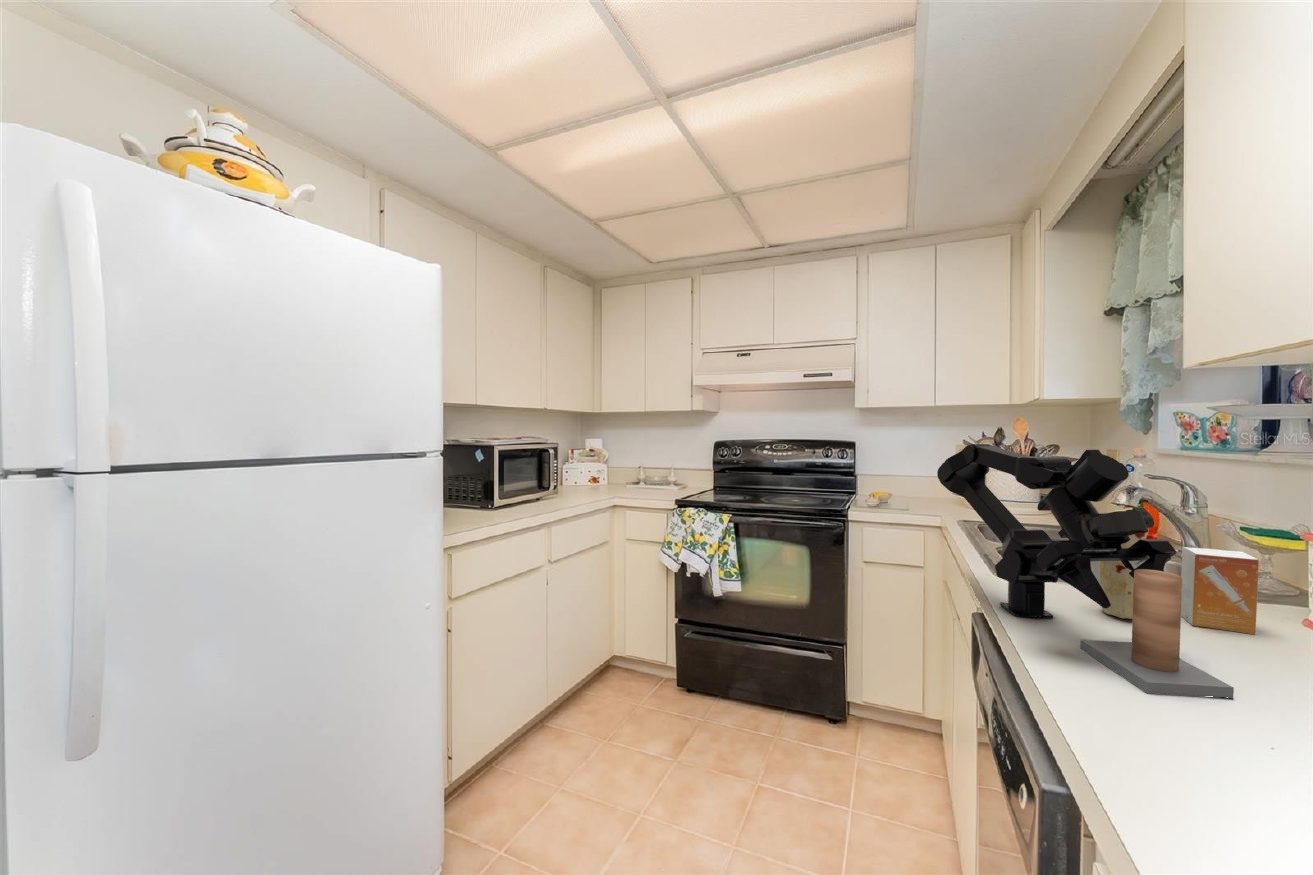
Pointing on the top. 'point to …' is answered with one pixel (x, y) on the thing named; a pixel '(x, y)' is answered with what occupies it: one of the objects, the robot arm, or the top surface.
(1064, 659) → the top surface
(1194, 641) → the top surface
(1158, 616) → the banded brown cylinder
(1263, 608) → the top surface
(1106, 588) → the food model
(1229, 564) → the small box
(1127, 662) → the slate board
